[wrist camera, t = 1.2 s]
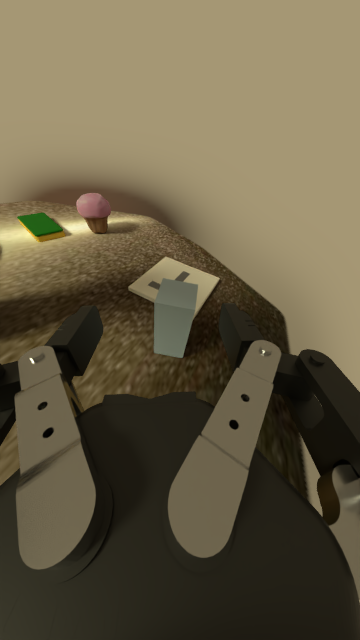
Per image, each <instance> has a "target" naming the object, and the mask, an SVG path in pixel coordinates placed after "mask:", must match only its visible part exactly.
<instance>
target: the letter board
mask: <svg viewBox="0 0 360 640" xmlns="http://www.w3.org/2000/svg"><path fill="white" fill-rule="evenodd" d="M163 278H165V279H171V280H176V281H181V282H187V283H192V284H198V291H197V300H196V308H195V313H194V317H193V319H194V318H195V316H196V315H197V313H198V312H199V310H200V309H201V307H202V306H203V304H204V303H205V301H206V300H207V298H208V297H209V295H210V294H211V292H212V291H213V289H214V288H215V286H216V285H217V283H218V282H219V279H220V278H218V277H215V276H213V275H210V274H208V273H205V272H203V271H200V270H198V269H195V268H193V267H190V266H188V265H185V264H183V263H180V262H178V261H175V260H173V259H170V258H168V257H165V258H164V259H162V260H161V261H160V262H159V263H157V264H156V265H155V266H154V267H152V268H151V269H150V270H149V271H147V272H146V273H145V274H144V275H142V276H141V277H140V278H139V279H137V280H136V281H135V282H134V283H132V284H131V285H130V286H129V287H128V289H129V291H131V292H133V293H135V294H137V295H139V296H141V297H143V298H145V299H148V300H150V301H152V302H155V299H156V297H157V294H158V291H159V288H160V285H161V282H162V279H163ZM192 321H193V320H192Z"/></svg>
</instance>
